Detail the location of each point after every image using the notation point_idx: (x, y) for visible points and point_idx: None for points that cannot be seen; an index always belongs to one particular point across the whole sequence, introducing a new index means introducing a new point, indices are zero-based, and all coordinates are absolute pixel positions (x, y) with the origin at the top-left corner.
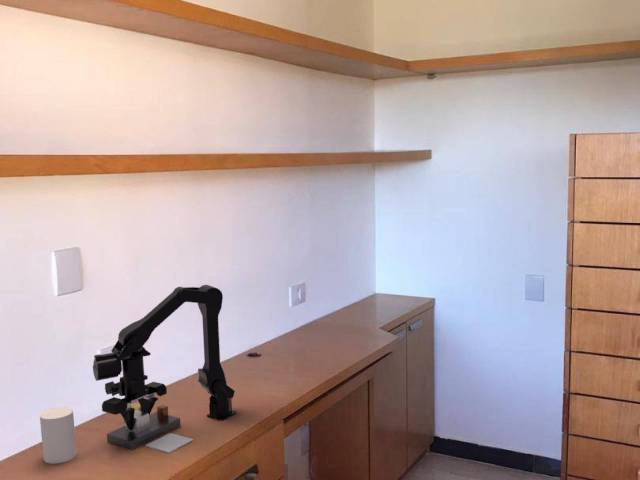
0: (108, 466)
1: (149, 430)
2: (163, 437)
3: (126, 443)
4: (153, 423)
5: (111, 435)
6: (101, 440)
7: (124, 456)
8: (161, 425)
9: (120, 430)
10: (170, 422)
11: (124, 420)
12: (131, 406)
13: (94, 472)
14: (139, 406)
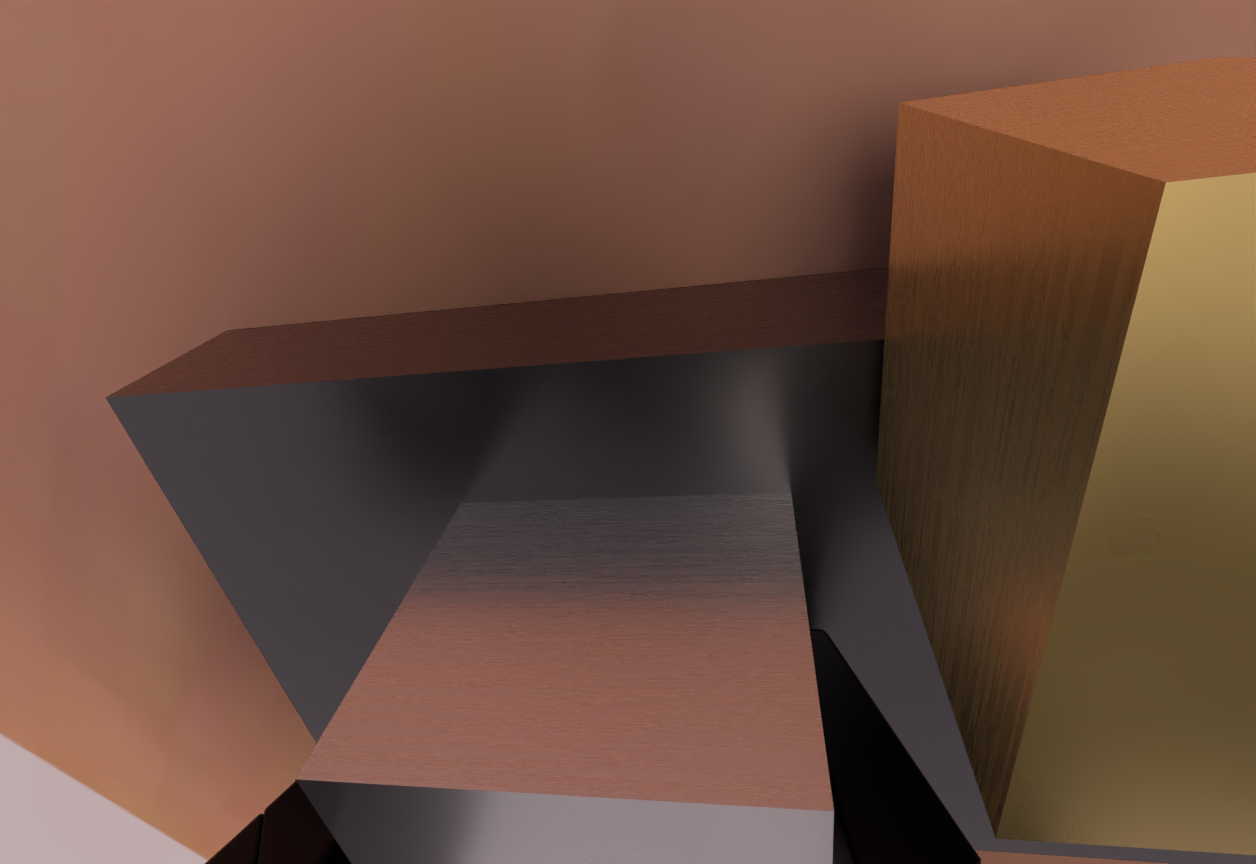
0: (138, 744)
1: None
2: None
3: None
4: (944, 703)
5: (178, 508)
6: (157, 162)
7: (302, 730)
8: None
9: (365, 484)
10: (1098, 856)
11: (292, 784)
12: (1072, 421)
13: (23, 730)
14: (1157, 797)
